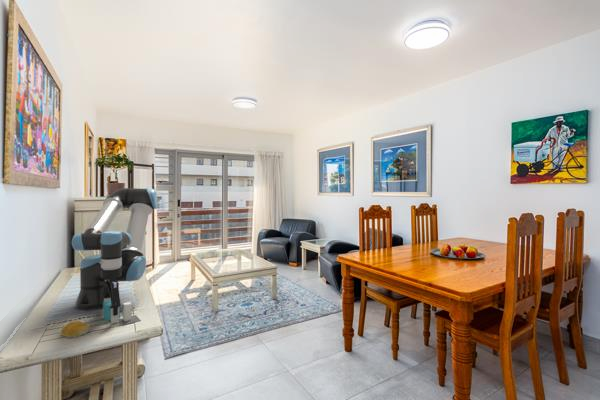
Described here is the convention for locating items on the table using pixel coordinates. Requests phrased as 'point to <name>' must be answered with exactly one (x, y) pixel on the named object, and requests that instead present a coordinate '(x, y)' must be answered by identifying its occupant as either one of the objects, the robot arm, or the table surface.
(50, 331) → the table surface
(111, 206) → the robot arm
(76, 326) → the bread roll
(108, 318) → the teal toy brick
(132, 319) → the panel
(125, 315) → the white rectangular block
